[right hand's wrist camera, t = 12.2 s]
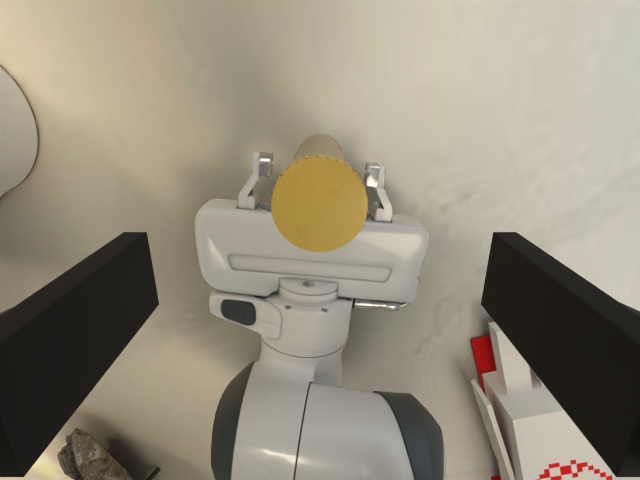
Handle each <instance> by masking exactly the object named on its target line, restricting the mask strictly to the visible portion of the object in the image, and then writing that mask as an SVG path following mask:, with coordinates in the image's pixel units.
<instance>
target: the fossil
mask: <svg viewBox="0 0 640 480" xmlns="http://www.w3.org/2000/svg"><path fill="white" fill-rule="evenodd" d="M66 442H67V445H66V446H64V447H63V448H62V450H61V451H60V452H59V453H58V455H57V456H58V460H59V463H60V466H61V468H62V469H63V471H64V473H65V474H66V475H67V476H69V477H70V478H72V479H75V480H133V479H132V478H131V476H130V475H129V473H128V472H127V471H126V469H124V468H123V467H122V466H121V465H120V464H119V463H118V462H117V461H116V460H115V459H114V458H112V457H111V455H110V453H108V452H107V451H106V450H104V448H103V446H102V445H101V444H99V443H97V442H96V441H95V439H93V438H92V437H91V436H90V434H88V433H86V432H84V431H82V430H80V429H78V428H75V429H74V430H73V432H72V434H71V435H69V436H67V438H66ZM159 471H160V468H159V467H158V468H157V469H156V470H155V471H154V472H153V473H152V474H151V475H150V476H149V477H148V478H147V479H146V480H152V479H153V478H154V477H155V476H156V474H157V473H158V472H159Z"/></svg>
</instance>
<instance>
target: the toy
mask: <svg viewBox="0 0 640 480" xmlns="http://www.w3.org/2000/svg"><path fill="white" fill-rule="evenodd" d="M488 325H489V330H490V335H487V336H483V337H479V338H475V339H471V343H472V347H473V351H474V356H475V360H476V365H477V369H478V373H479V378H480V382H481V386H482V389H481V388H480V386H479V385H478V383H477V382H476V380H475V379H472V380H470V381H471V384H472V387H473V390H474V393H475V396H476V399H477V402H478V405H479V408H480V411H481V414H482V417H483V420H484V423H485V426H486V429H487V432H488V435H489V438H490V441H491V444H492V448H493V451H494V454H495V456H496V458H497V461H498V466H499V471H500V476H496V477H491V479H492V480H612V475H611V469H610V468H609V467H608V466H607V464H606V463H605V462H604V461H603V459H602V458H601V457H600V455H599V454H598V453H597V452H596V450H595V449H594V448H593V447H592V445H591V444H590V443H589V441H588V440H587V439H586V438H585V436H584V435H583V434H582V432H581V431H580V430H579V429H578V427H577V426H576V425H575V424H574V422H573V421H572V420H571V418H570V417H569V416H568V415H567V413H566V412H565V411H564V410H563V408H562V407H561V406H560V404H559V403H558V402H557V401H556V399H555V398H554V397H553V395H552V394H551V393H550V392H549V390H548V389H547V388H546V387H545V385H544V384H543V383H542V381H541V380H540V379H539V378H538V376H537V375H536V374H535V372H534V371H533V370H532V369H531V367H530V366H529V365H528V364H527V362H526V361H525V360H524V358H523V357H522V356H521V355H520V353H519V352H518V351H517V350H516V348H515V347H514V346H513V344H512V343H511V342H510V341H509V339H508V338H507V337H506V335H505V334H504V333H503V332H502V330H501V329H500V328H499V327H498V325H497V324H496V323H495V322H491V323H488Z"/></svg>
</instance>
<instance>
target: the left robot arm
mask: <svg viewBox="0 0 640 480" xmlns="http://www.w3.org/2000/svg"><path fill="white" fill-rule="evenodd" d="M37 147H38V136H37V128H36V123H35V119H34V116H33V113H32V111H31V108H30V106H29V104H28V102H27V100H26V98H25V96H24V94H23V93H22V91H21V89H20V88H19V87H18V85H17V84H16V83H15V81H14V80H13V79H12V78H11V76H10V75H9V74H8V73H7V72H6V71H5V70H4V69H3V68H2V67H1V66H0V198H1V196H2V195H3V194H4V193H6V192H7V191H9V190H10V189H12V188H14V187H15V186H17V185H18V184H19V183H21V182H22V181H23V180H24V179H25V178H26V176H27V175H28V174H29V172H30V170H31V169H32V167H33V164H34V162H35V158H36V154H37ZM272 161H273V153H267V152H257V151H256V152H255V153H254V155H253V171H252V175H251V176H250V178H249V179H248V181H247V182H246V184H245V185H244V187H243V188H242V190H241V191H240V193H239V194H238V200H228V199H218V198H214V199H211V200H210V201H208V202H207V203H206V204H205V205H203V206H202V207H201V209H200V210H199V211H198V212H197V214H196V217H195V237H196V247H197V254H198V260H199V266H200V270H201V273H202V276H203V278H204V279H205V281H206V282H207V283H208V284H209V285H210V286H211V287H212V288H213V289H212V292H211V295H210V299H209V311H210V313H211V314H212V315H214V316H216V317H218V318H221V319H223V320H226V321H229V322H232V323H235V324H237V325H240V326H242V327H245V328H247V329H250V330H252V331H254V332H256V333H258V334H260V338H261V343H262V351H261V354H260V356H259V359H258V361H257V362H255V361H253V362H252V363H250V364H249V365H248V366H246V367H245V368H244V369H243V370H242V371H241V372H240V373H239V374H238V375H237V376H236V377H235V378H234V379H233V380H232V381H231V382H230V383H229V384H228V386H227V387H226V389H225V391H224V392H223V394H222V396H221V399H220V401H219V404H218V407H217V410H216V414H215V418H214V424H213V432H212V445H211V467H212V470H213V474H214V477H215V480H445V477H446V456H445V447H444V442H443V436H442V431H441V428H440V426H439V425H438V423H437V422H436V420H435V419H434V418H433V416H432V415H431V414H430V413H429V412H428V410H427V409H426V408H425V407H424V406H423V405H422V404H421V403H420V402H419V401H418V400H417V399H416V398H415V397H414V396H413V395H411V394H409V393H394V392H379V391H374V392H366V391H359V390H353V389H346V388H340V386H341V380H342V374H343V366H342V360H341V354H342V351H343V350H344V348H345V345H346V343H347V339H348V333H349V326H350V319H351V311H352V309H353V308H362V309H374V308H375V309H384V310H387V311H397V310H399V307H404V306H407V305H409V304H410V303H412V302H413V301H414V300H415V298H416V295H417V290H418V286H419V277H418V275H419V272H420V270H421V267H422V264H423V261H424V258H425V255H426V252H427V248H428V244H429V234H428V232H427V230H426V229H425V227H424V226H423V224H422V223H421V222H420V221H419V220H418V219H417V218H416V217H412V216H401V215H392V211H393V208H392V206H391V203H390V201H389V198H388V196H387V193H386V191H385V188H384V187H383V185H384V178H385V172H386V166H385V165H384V164H380V163H369V162H367V163H366V168H365V169H366V171H367V172H366V173H365V175H364V183H365V185H366V186H370V187H374V188H375V190H376V193H377V195H378V198H379V200H380V203H379V202H374V203H373V208H372V213H369V212H367V217H366V220H365V223H364V225H363V227H362V229H361V230H360V232H359V233H358V234H357V235H356V237H355V238H354V239H353V240H351V241H350V242H349V243H348V244H346V245H344V246H343V247H341V248H338V249H336V250H332V251H328V252H311V251H307V250H304V249H301V248H299V247H297V246H295V245H293V244H292V243H290V242H289V241H288V240H287V239H285V238H284V236H283V235H282V234H281V233H280V231H279V230H278V228H277V227H276V224H275V222H274V219H273V216H272V210H271V203H261V202H258V191H255V190H253V191H252V189H253V187H254V186H255V184H256V183H257V181H258V180H259V178H260V177H261V176H264V177H270V176H271V174H272V170H273V165H272V163H271V162H272ZM399 302H403V303H399Z"/></svg>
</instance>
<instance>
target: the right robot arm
mask: <svg viewBox="0 0 640 480" xmlns="http://www.w3.org/2000/svg"><path fill="white" fill-rule="evenodd" d="M158 305H159V301H158V295H157V290H156V284H155V278H154V272H153V266H152V260H151V255H150V249H149V243H148V237H147V232H124V233H122V234H121V235H119V236H118V237H116V238H115V239H113V240H112V241H110V242H109V243H107V244H106V245H104V246H103V247H101V248H100V249H99V250H97V251H96V252H94V253H93V254H91V255H90V256H88V257H87V258H85V259H84V260H82V261H81V262H79V263H78V264H77V265H75V266H74V267H72V268H71V269H69V270H68V271H66V272H65V273H63V274H62V275H60V276H59V277H57V278H56V279H54V280H53V281H52V282H50V283H49V284H47V285H46V286H44V287H43V288H41V289H40V290H38V291H37V292H35V293H34V294H32V295H31V296H29V297H28V298H27V299H25V300H24V301H22V302H21V303H19V304H18V305H16V306H15V307H13V308H11V309H8V310H6V311H4V312H2V313H0V477H24V476H25V475H26V473H27V472H28V471H29V469H30V468H31V467H32V466H33V464H34V463H35V462H36V461H37V459H38V458H39V457H40V455H41V454H42V453H43V452H44V450H45V449H46V448H47V447H48V445H49V444H50V443H51V441H52V440H53V439H54V438H55V436H56V435H57V434H58V432H59V431H60V430H61V429H62V427H63V426H64V425H65V424H66V422H67V421H68V420H69V418H70V417H71V416H72V415H73V413H74V412H75V411H76V409H77V408H78V407H79V406H80V404H81V403H82V402H83V401H84V399H85V398H86V397H87V395H88V394H89V393H90V392H91V390H92V389H93V388H94V387H95V385H96V384H97V383H98V381H99V380H100V379H101V378H102V376H103V375H104V374H105V372H106V371H107V370H108V369H109V367H110V366H111V365H112V364H113V362H114V361H115V360H116V358H117V357H118V356H119V355H120V353H121V352H122V351H123V350H124V348H125V347H126V346H127V344H128V343H129V342H130V341H131V339H132V338H133V337H134V335H135V334H136V333H137V332H138V330H139V329H140V328H141V327H142V325H143V324H144V323H145V321H146V320H147V319H148V318H149V316H150V315H151V314H152V313H153V311H154V310H155V309H156V307H157V306H158ZM481 305H482V306H483V307H484V309H485V310H486V311H487V313H488V314H489V315H490V316H491V318H492V319H493V320H494V321H495V323H496V324H497V325H498V327H499V328H500V329H501V330H502V332H503V333H504V334H505V335H506V337H507V338H508V339H509V341H510V342H511V343H512V344H513V346H514V347H515V348H516V350H517V351H518V352H519V353H520V355H521V356H522V357H523V358H524V360H525V361H526V362H527V364H528V365H529V366H530V367H531V369H532V370H533V371H534V372H535V374H536V375H537V376H538V378H539V379H540V380H541V381H542V383H543V384H544V385H545V387H546V388H547V389H548V390H549V392H550V393H551V394H552V395H553V397H554V398H555V399H556V401H557V402H558V403H559V404H560V406H561V407H562V408H563V410H564V411H565V412H566V413H567V415H568V416H569V417H570V418H571V420H572V421H573V422H574V424H575V425H576V426H577V427H578V429H579V430H580V431H581V432H582V434H583V435H584V436H585V438H586V439H587V440H588V441H589V443H590V444H591V445H592V447H593V448H594V449H595V450H596V452H597V453H598V454H599V455H600V457H601V458H602V459H603V461H604V462H605V463H606V464H607V466H608V467H609V468H610V469H611V471H612V472H613V473H614V475H615V476H616V477H640V311H638V310H635V309H633V308H631V307H629V306H626V305H624V304H622V303H620V302H618V301H616V300H615V299H613V298H612V297H611V296H609V295H608V294H606V293H605V292H603V291H602V290H600V289H599V288H597V287H596V286H594V285H593V284H591V283H590V282H588V281H587V280H586V279H584V278H583V277H581V276H580V275H578V274H577V273H575V272H574V271H572V270H571V269H569V268H568V267H566V266H565V265H563V264H562V263H561V262H559V261H558V260H556V259H555V258H553V257H552V256H550V255H549V254H547V253H546V252H544V251H543V250H541V249H540V248H539V247H537V246H536V245H534V244H533V243H531V242H530V241H528V240H527V239H525V238H524V237H522V236H521V235H519V234H518V233H516V232H493V237H492V243H491V249H490V255H489V260H488V266H487V272H486V278H485V284H484V290H483V295H482V301H481Z"/></svg>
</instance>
